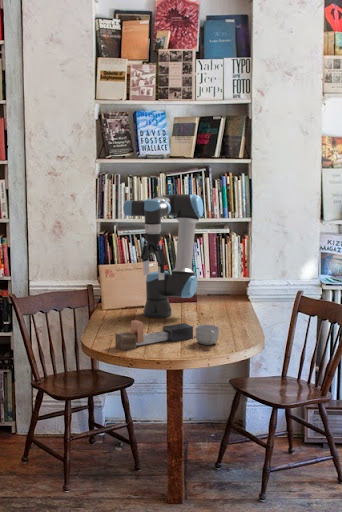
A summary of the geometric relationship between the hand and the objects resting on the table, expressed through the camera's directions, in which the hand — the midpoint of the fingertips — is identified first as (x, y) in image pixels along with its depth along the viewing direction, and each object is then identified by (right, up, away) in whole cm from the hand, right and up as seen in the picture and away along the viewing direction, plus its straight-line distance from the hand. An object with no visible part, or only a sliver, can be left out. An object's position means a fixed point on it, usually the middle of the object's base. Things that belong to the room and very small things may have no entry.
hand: (153, 277), depth 349 cm
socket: (-12, -31, -16) cm, 37 cm away
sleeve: (+11, -29, -1) cm, 31 cm away
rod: (0, -30, -9) cm, 31 cm away
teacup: (+25, -31, -11) cm, 41 cm away
